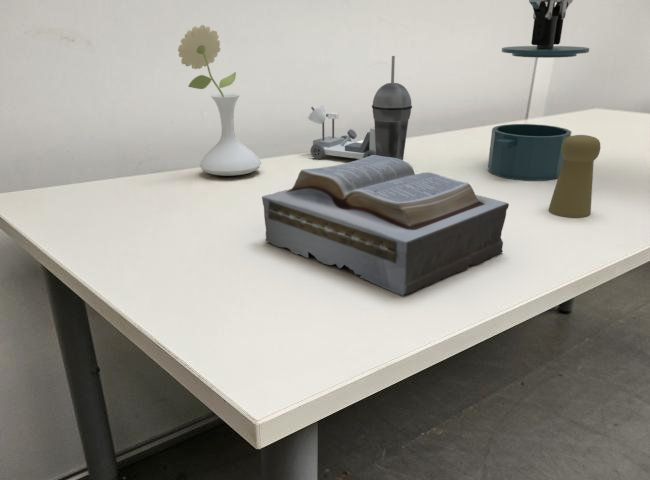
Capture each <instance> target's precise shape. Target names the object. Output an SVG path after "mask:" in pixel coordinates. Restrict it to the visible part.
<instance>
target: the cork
mask: <svg viewBox="0 0 650 480" xmlns="http://www.w3.org/2000/svg"><path fill="white" fill-rule="evenodd" d="M561 152H562V156H563V158H564V160H563V163H562V167H561V170H560V173H559V177H558V178H557V179H556V183H555V186H554V189H553V193H552V196H551V198H550V199H551V200H550V202H549V205H548V210H547V211H548V212H549V213H551V214H553V215H556V216H559V217H565V218H585V217H589V216H590V215H591V214H592V194H593V179H594V164H595V163H594V161H595V160H596V159H597V158H598V157H599V155H600V153H601V142H600V139H599V138H597V137H596V136H592V135H587V134H574V135H571V136H569V137H567V138H566V139H565V140H564V142H563V144H562V149H561Z"/></svg>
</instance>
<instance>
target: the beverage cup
mask: <svg viewBox="0 0 650 480" xmlns="http://www.w3.org/2000/svg"><path fill="white" fill-rule="evenodd" d="M395 60H396V55H392V56H391V68H390V71H391V72H390V82H387V83H385V84H383V85H382V86H380V87H379V88H378V90H377V91H376V92H375V94H374V97H373V100H372V105H371V109H372V116H373V121H374V127H375V143H376V155H377V156H383V157H391V158H397V159H400V160H403V161H404V157H405V156H404V155H405V149H406V148H405V147H406V141H407V134H408V126H409V121H410V117H411V114H412V113H411V112H412V109H413V105H412V98H411V95H410V93H409V91H408V89H407V88H406V87H405V86H404V85H403V84H401V83H399V82H395V66H396V65H395V64H396V63H395V62H396V61H395Z"/></svg>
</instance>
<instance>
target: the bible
mask: <svg viewBox="0 0 650 480" xmlns="http://www.w3.org/2000/svg"><path fill="white" fill-rule="evenodd" d="M261 200H262V206H263V215H264V225H265V242H267V243H270V244H271V245H272V246H273V245H274V246H276V247H279V248H286V249H288V250H290V253H293V254H294V255H296V256H298V255H301V256H302V257H304V258H307V259H309V254H311V256H313V257H314V258H315V259H316V260H317V261H318V262H319V263H322V264H324V265H327V266H333V265H335V266H336V267H337V268H338V269H342V268H343V267H344V266H345V267H346V268H348V269H349V270H352V271H353V273H354V274H355V275H358V276H359V278H361V279H363V280H366V281H368V282H370V283H371V284H372V285H376V286H378V287H380V288H383V289H385V290H387V291H390V292H392V293H394V294H396V295H398V296H400V297H403V298H404V297H405V295H406V294H407V295H408V294H411V293H413V292H416V291H417V290H420V289H422V288H423V287H425V286H429V285H433V284H436V283H437V282H438V281H440V280H443V279H445V278H446V277H448V276H450V277H451V276H452V275H455V274H456V273H461V272H465V271H467V270H469V266H471V265H473V266H474V265H478V264H482V263H483V262H484V261H486V260H489V259H492V257H494V256H496V255H498V254H500V253H503V252H504V251H503V246H504V241H503V239H502V231H503V228H504V225H505V221H506V217H507V210H508V209H509V206H510V205H509V204H510V203H508V202H506V201H502V200H499V199H495V198H490V197H486V196H482V195H479V194H476V193H475V191H474V189H473V187H472V185H471V184H470V183H469V182H464V181H462V180H458V179H457V180H456V179H453V178H449V177H447V176H443V175H440V174H437V173H435V172H420V173H415V170H414V168H413V166H412V165H411V164H410V163H409V162H407V161H405V160H404V159H403V160H400V159H397V158H391V157H383V156H377V155H371V156H369V157H366V158H363V159H356V160H353V161H350V162H346V163H345V162H344V163H340V164H335V165H330V166H323V167H316V168H315V167H314V168H304V169H301V170H300V172H299V173H298V175H297V179H296V180H295V182H294V184H293V186H292V188H288V189H284V190H281V191H277V192H273V193H270V194H269V193H268V194H265V195H263V196H261Z"/></svg>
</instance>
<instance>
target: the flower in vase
mask: <svg viewBox="0 0 650 480" xmlns="http://www.w3.org/2000/svg"><path fill="white" fill-rule="evenodd" d="M180 43H181V44H180V45H178V48H177V52H178V57H179V58H181V64H182V65H185V66H186V67H190V66H191V68H192V69H193V70H194V69H195V70H198V69H199V70H200V69H203V67H207V71H208V75H209V76H207V75H204V74H199V75H197V76H196V77H194V78H193V79H192V80H191V81H190V83H189V84H188V88H192V89H197V90H204V89H206V88H207V87H208V86H210V83H211V82H212V83H213V84H214V86H215V88H217V90H218V93H215V94H211V95H210V97H211V98H212V100H213V101H214V102H215V104H216V106H217V109H218V113H219V117H220V125H221V135H220V138H219V140H218V142H217V143H216V144H215V145H214V146H212V148H211V149H210V150H209V151H207V153H206V154H205V155H203V157H202V158H201V160H200V161H199V167H200V169H201V170H202V171H203V172H205V173H208V174H210V175H214V176H223V177H225V176H226V177H228V176H229V177H231V176H232V177H234V176H241V175H246V174H250V173H253V172H254V171H257V170H258V169H259V168H260V167H261V165H262V162H261V159H260V157H259V156H258V155H257V154H256V153H255V152H253V151H252V150H251V149H250V148H248V147H247V146H245V145H244V144H243V143H242V142H241V141H240V140H239V139H238V137H237V135H236V132H235V125H234V123H235V121H234V118H235V117H234V116H235V115H234V114H235V107H236V103H237V101H238V99H239V98H240V94H239V93H223V91H222V90H221V89H223V88H226V87H228V86H231V85H233V83H234V82H235V80H236V77H237V71H234V72H233V73H232V74H230V75H228V76H226V77H223V78H222V79H220V81H219V83H217V82H216V81H215V80H214V77H213V76H212V73H211V69H210V65H209V64H213V63H214V62H215V61H216V59H215V58H217V57H218V55H219V53H220V51H221V47H220V45H221V44H220V43H221V41H220V40H219V34H218V31H217V30H214V29H213V30H211V27H210V26H205V25H204V24H201V25H200V26H199V27H197V26H195V25H194V26H193V27H192V29H191V30H187V32H186V33H185V34H184V37H183V38H181V40H180ZM218 84H219V85H218Z"/></svg>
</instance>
